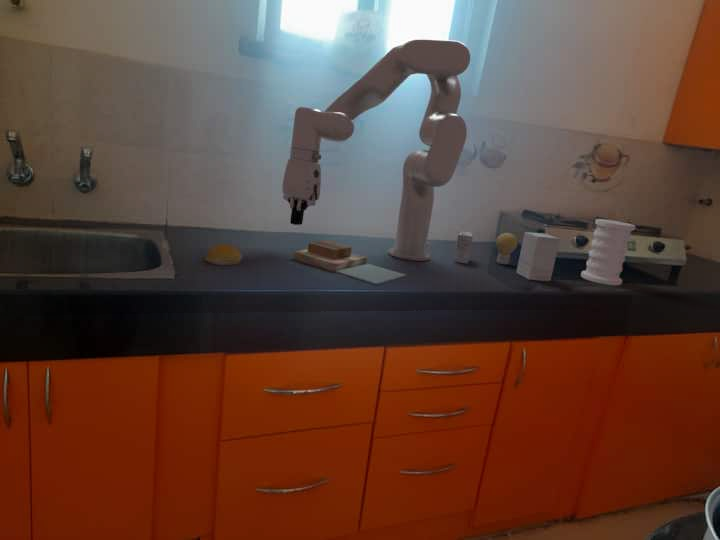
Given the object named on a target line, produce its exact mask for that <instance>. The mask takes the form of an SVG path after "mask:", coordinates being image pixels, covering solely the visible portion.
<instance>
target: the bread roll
mask: <svg viewBox="0 0 720 540" xmlns="http://www.w3.org/2000/svg"><path fill="white" fill-rule="evenodd" d="M204 258H205V259H204V260H205V261H206V262H207V263H209V264H213V265H217V266H233V265H238V264H239V263H241V262H242V259H243V254H242V253H241V251H240V250H239V249H238V248H237V247H235V246H234V245H232V244H228V243H220V244H217V245H215V246H213V247H212V248H210V249H209V250H208V251H207V252H206V254H205V255H204Z"/></svg>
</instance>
